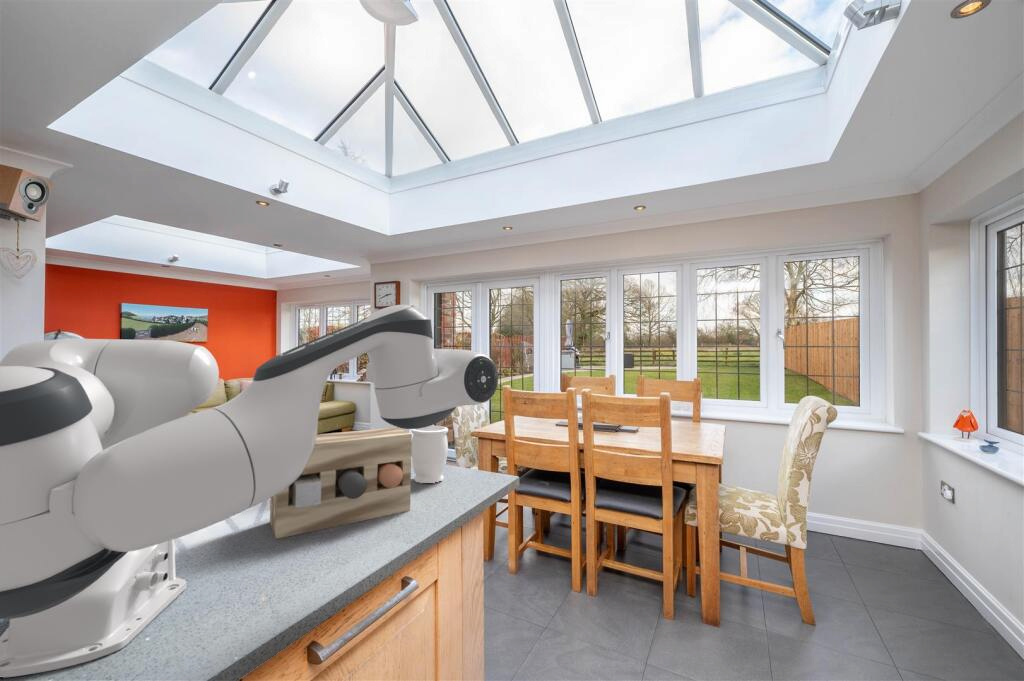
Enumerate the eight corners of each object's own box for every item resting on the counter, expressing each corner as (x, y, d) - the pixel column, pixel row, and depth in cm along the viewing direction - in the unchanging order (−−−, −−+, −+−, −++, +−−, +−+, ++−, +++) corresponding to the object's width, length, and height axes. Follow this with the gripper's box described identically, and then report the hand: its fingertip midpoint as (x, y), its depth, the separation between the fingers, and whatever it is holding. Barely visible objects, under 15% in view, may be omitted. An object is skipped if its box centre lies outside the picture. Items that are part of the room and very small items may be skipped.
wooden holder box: (410, 510, 102) (411, 433, 103) (276, 538, 86) (278, 447, 86) (394, 497, 110) (396, 427, 111) (269, 521, 94) (272, 438, 94)
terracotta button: (402, 486, 100) (403, 464, 100) (381, 489, 97) (381, 467, 97) (394, 480, 104) (395, 459, 104) (374, 483, 101) (374, 462, 101)
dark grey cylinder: (366, 496, 92) (367, 472, 93) (342, 500, 90) (343, 476, 90) (359, 490, 97) (360, 467, 97) (336, 494, 94) (337, 470, 94)
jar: (454, 477, 128) (455, 427, 129) (433, 487, 119) (434, 433, 119) (424, 472, 133) (425, 423, 133) (402, 482, 123) (403, 429, 124)
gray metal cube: (320, 503, 87) (321, 480, 87) (295, 508, 84) (296, 484, 85) (315, 496, 91) (316, 474, 91) (291, 500, 89) (291, 478, 89)
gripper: (378, 393, 71) (355, 386, 83) (484, 388, 83) (450, 383, 95) (379, 355, 72) (355, 353, 83) (484, 355, 83) (451, 354, 95)
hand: (407, 369), depth 89 cm, fingers closed
